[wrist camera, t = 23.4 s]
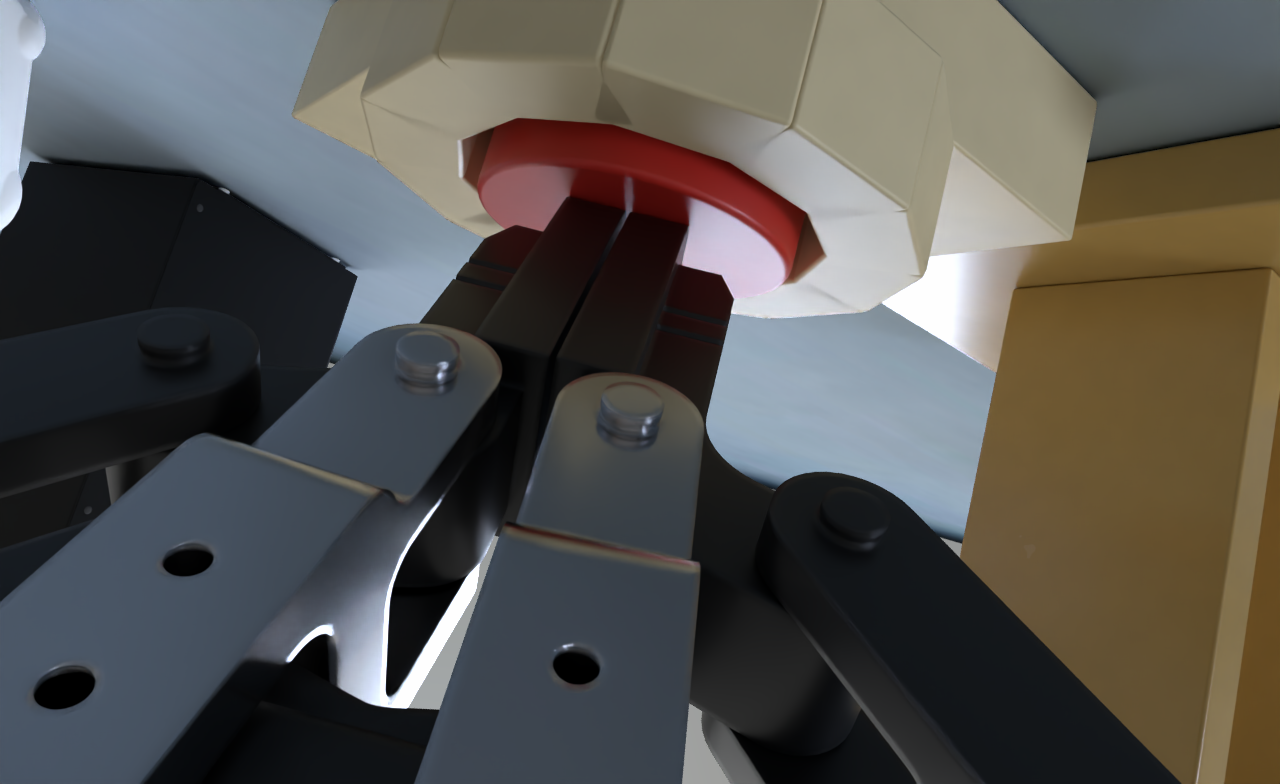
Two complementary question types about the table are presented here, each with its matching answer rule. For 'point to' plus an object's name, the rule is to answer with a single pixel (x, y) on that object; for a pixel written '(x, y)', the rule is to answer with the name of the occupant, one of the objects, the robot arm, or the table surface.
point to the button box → (737, 115)
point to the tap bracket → (1139, 444)
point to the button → (644, 194)
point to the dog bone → (15, 93)
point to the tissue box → (152, 285)
